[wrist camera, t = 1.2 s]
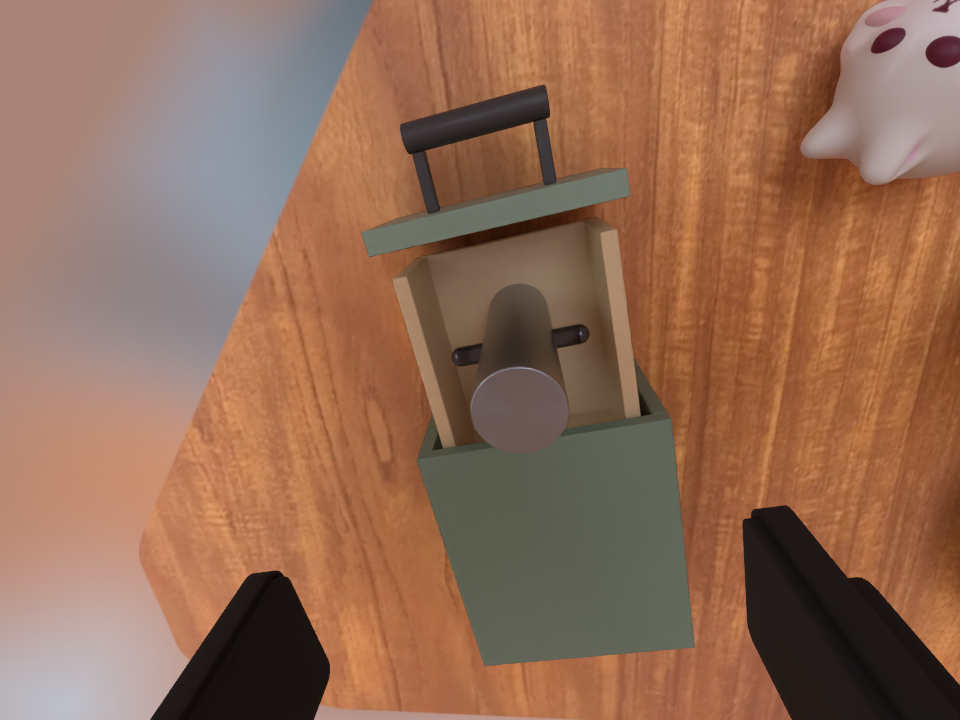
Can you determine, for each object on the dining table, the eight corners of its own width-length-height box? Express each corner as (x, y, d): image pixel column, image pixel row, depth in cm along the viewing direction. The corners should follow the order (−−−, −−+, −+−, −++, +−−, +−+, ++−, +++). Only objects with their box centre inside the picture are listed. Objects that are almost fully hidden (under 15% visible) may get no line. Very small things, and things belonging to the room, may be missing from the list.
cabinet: (440, 391, 34) (416, 460, 26) (633, 356, 32) (672, 418, 24) (491, 566, 40) (484, 666, 32) (657, 546, 38) (695, 647, 30)
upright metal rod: (470, 349, 30) (439, 468, 18) (457, 295, 29) (413, 385, 17) (580, 328, 29) (623, 438, 17) (570, 271, 28) (610, 348, 16)
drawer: (373, 142, 27) (330, 135, 21) (590, 83, 25) (614, 55, 19) (457, 436, 34) (444, 496, 28) (633, 407, 32) (661, 464, 26)
